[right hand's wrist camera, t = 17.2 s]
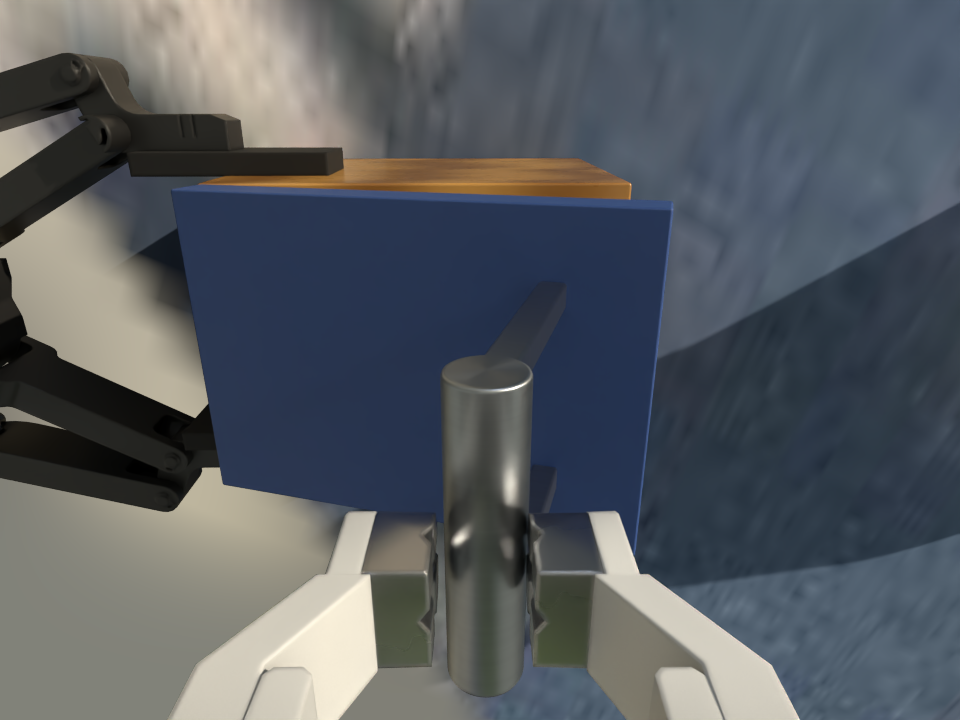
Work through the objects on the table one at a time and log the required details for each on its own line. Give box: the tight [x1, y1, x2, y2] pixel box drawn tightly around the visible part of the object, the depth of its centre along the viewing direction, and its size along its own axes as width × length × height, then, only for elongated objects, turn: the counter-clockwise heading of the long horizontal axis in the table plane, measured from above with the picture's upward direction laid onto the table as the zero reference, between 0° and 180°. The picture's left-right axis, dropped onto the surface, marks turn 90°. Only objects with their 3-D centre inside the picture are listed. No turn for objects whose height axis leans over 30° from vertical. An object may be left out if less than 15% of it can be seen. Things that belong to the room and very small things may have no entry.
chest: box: [197, 158, 631, 200], centre depth 25 cm, size 13×10×10 cm
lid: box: [171, 184, 673, 697], centre depth 15 cm, size 14×10×8 cm
